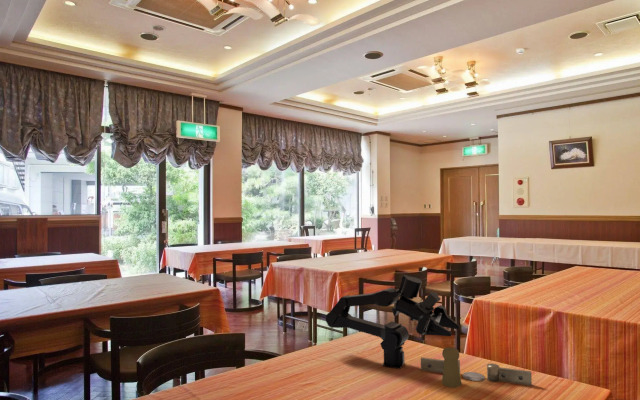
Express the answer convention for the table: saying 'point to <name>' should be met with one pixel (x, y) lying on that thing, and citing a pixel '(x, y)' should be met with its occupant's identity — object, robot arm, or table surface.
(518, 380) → the hinge frame
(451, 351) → the olive rounded piece
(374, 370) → the table surface
